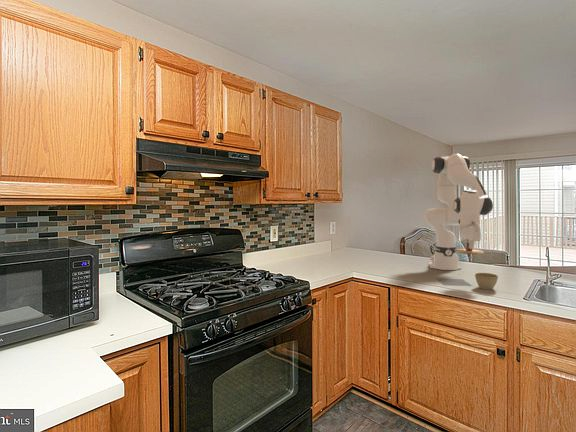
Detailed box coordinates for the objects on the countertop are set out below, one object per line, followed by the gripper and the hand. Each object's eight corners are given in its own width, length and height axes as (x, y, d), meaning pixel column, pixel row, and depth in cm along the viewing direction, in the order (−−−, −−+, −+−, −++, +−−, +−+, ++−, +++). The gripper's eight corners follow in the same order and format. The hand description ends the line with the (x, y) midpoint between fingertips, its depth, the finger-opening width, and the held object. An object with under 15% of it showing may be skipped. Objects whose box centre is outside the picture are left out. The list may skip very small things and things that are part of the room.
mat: (436, 279, 192) (436, 278, 192) (462, 279, 190) (462, 279, 190) (443, 285, 178) (443, 285, 178) (472, 286, 176) (472, 285, 176)
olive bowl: (476, 285, 178) (477, 271, 178) (499, 288, 172) (499, 274, 172) (472, 289, 171) (473, 275, 170) (495, 292, 164) (496, 278, 164)
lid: (451, 250, 184) (452, 241, 184) (477, 250, 182) (478, 241, 182) (460, 254, 171) (460, 244, 171) (488, 254, 169) (488, 244, 169)
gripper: (484, 222, 165) (484, 250, 165) (469, 220, 185) (469, 245, 186) (470, 222, 166) (470, 250, 167) (457, 220, 186) (456, 245, 187)
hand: (469, 248), depth 176 cm, fingers closed on lid, 3 cm apart
